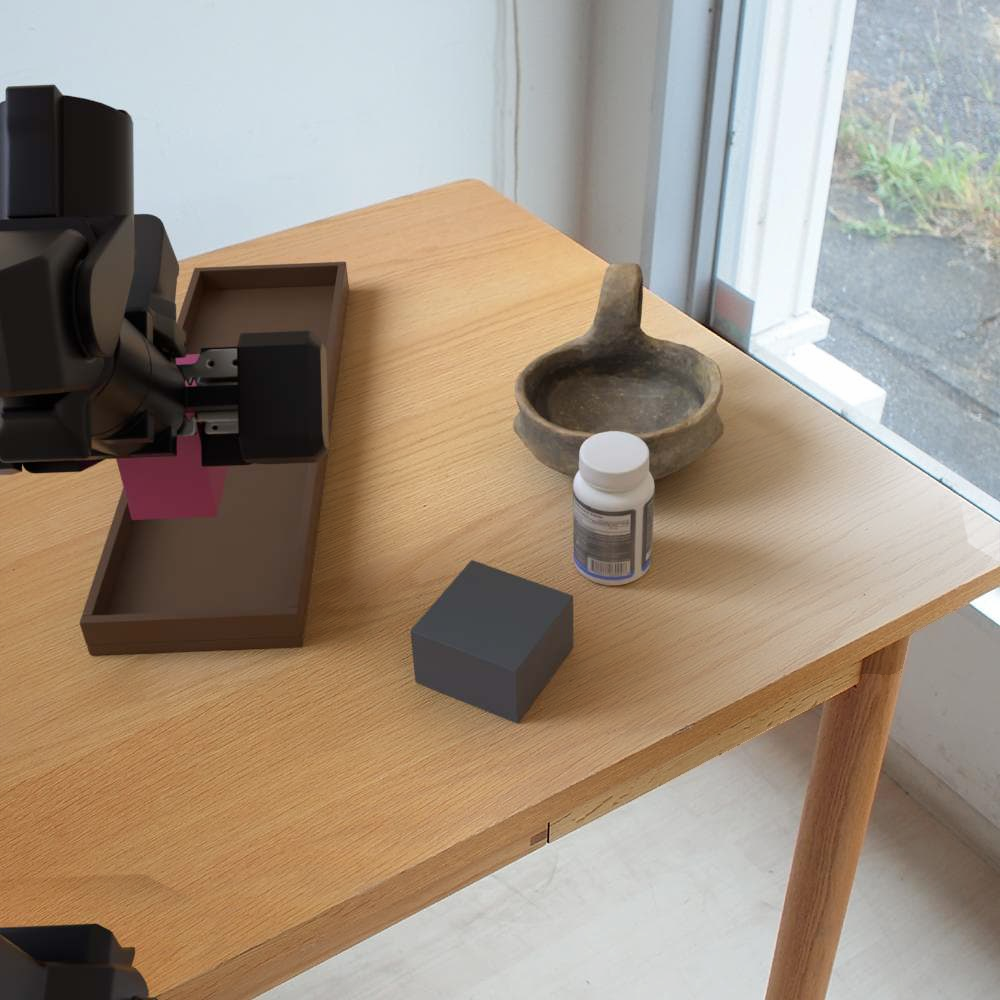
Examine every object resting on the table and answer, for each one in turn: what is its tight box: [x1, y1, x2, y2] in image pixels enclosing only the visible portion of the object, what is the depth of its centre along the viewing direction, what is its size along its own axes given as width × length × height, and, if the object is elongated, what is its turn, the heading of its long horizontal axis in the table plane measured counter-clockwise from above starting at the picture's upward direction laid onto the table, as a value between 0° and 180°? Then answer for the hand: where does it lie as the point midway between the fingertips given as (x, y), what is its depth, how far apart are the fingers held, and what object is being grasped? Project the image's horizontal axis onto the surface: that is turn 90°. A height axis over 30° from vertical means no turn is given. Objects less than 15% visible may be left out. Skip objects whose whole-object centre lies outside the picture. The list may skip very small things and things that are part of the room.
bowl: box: [512, 262, 725, 481], centre depth 87 cm, size 14×18×10 cm
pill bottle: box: [572, 431, 656, 586], centre depth 78 cm, size 5×5×8 cm
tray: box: [79, 261, 350, 656], centre depth 91 cm, size 41×12×3 cm, turn 1°
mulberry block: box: [115, 354, 228, 520], centre depth 71 cm, size 5×5×8 cm
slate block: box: [409, 559, 574, 724], centre depth 73 cm, size 6×6×4 cm
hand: (175, 433), depth 72 cm, fingers closed on mulberry block, 4 cm apart
